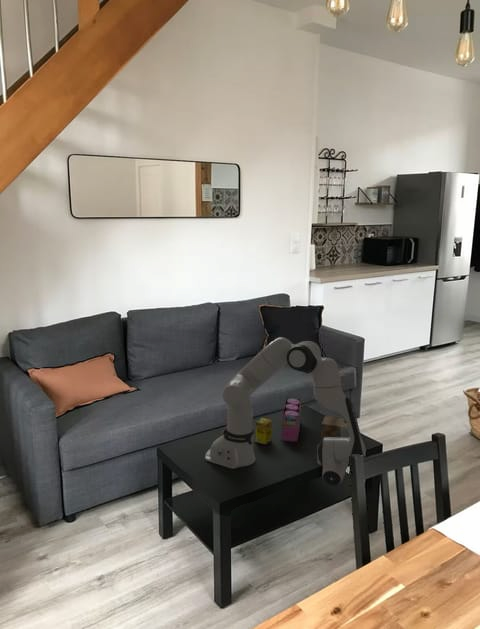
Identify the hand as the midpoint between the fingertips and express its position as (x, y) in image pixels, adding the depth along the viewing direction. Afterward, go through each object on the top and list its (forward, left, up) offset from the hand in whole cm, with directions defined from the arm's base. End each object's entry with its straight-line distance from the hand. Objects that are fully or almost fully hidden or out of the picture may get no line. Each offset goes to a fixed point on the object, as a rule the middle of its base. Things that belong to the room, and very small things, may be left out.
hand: (342, 446), depth 227 cm
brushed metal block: (0, +11, -7) cm, 13 cm away
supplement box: (-38, +4, -7) cm, 39 cm away
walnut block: (-8, +23, -7) cm, 25 cm away
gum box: (-29, +21, -7) cm, 36 cm away
